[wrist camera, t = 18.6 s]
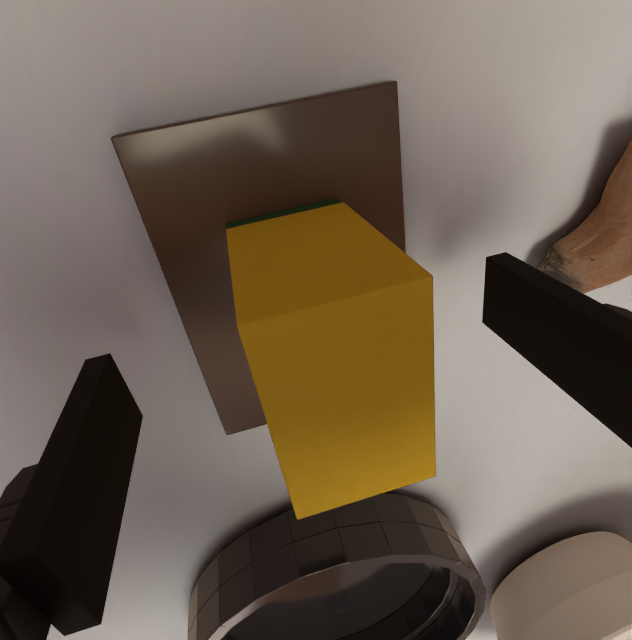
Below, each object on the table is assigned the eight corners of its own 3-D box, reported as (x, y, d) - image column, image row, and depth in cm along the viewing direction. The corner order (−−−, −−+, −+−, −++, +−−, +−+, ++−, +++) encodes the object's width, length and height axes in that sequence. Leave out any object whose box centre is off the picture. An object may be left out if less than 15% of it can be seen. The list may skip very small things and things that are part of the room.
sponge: (224, 222, 15) (236, 325, 9) (338, 197, 16) (434, 275, 9) (265, 367, 19) (297, 520, 12) (357, 342, 20) (436, 477, 13)
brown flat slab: (113, 135, 14) (109, 137, 13) (391, 81, 15) (397, 80, 14) (226, 427, 21) (226, 436, 21) (407, 376, 22) (412, 382, 22)
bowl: (691, 471, 35) (813, 567, 28) (610, 602, 45) (684, 695, 38) (466, 527, 31) (541, 654, 24) (434, 655, 41) (480, 770, 34)
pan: (145, 546, 24) (133, 633, 20) (453, 451, 26) (495, 513, 22) (233, 677, 34) (236, 752, 30) (450, 601, 36) (479, 661, 32)
